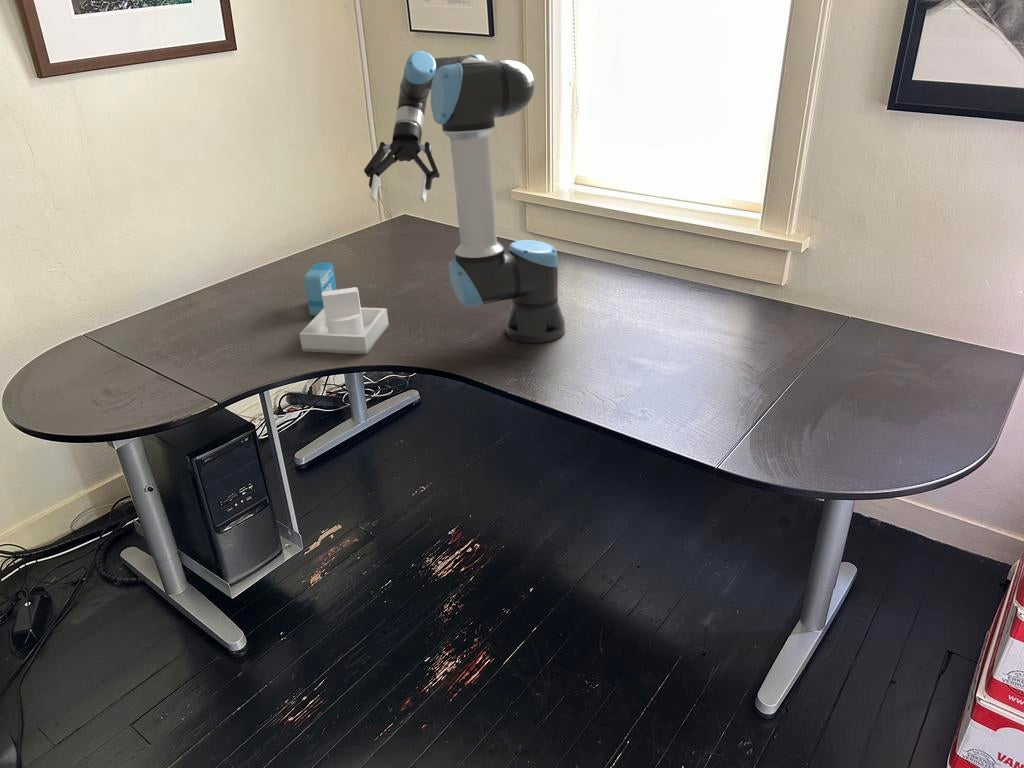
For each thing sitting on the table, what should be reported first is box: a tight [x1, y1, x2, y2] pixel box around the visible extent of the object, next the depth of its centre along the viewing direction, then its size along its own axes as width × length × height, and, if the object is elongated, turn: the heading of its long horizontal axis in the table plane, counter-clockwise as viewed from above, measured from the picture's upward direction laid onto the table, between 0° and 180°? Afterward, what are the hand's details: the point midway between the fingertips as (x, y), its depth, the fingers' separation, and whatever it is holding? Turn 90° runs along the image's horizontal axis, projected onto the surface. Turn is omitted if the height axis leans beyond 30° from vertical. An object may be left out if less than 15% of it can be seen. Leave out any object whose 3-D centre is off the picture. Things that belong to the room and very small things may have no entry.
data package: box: [303, 262, 338, 317], centre depth 206 cm, size 12×4×12 cm, turn 175°
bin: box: [298, 307, 390, 356], centre depth 191 cm, size 17×17×5 cm
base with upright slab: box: [322, 286, 364, 335], centre depth 189 cm, size 9×9×12 cm
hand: (397, 199), depth 195 cm, fingers open, 13 cm apart
